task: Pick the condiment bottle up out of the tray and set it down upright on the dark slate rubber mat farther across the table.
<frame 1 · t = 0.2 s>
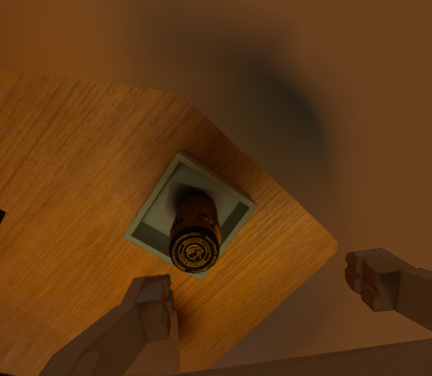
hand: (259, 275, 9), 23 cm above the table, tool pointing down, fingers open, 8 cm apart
tray: (192, 208, 33), on the table
cup 2: (164, 315, 37), on the table
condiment: (192, 208, 32), resting on tray
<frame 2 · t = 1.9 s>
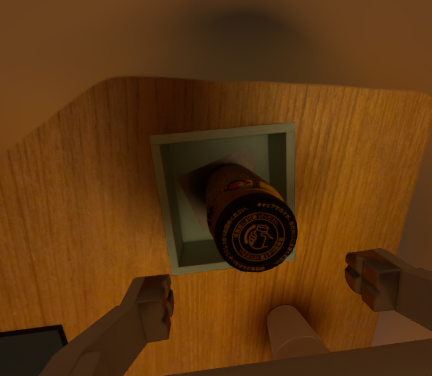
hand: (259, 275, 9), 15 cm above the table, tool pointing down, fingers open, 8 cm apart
tray: (223, 190, 24), on the table
cup 2: (282, 317, 30), on the table
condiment: (223, 190, 24), resting on tray
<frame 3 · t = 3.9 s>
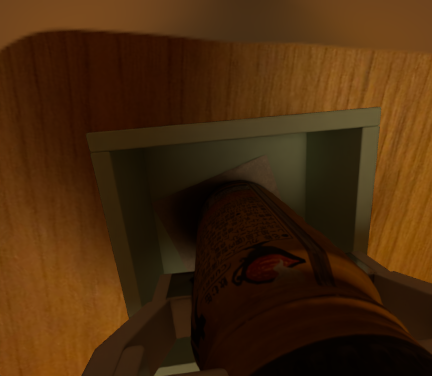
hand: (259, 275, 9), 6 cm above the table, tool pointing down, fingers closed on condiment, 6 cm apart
tray: (231, 220, 15), on the table
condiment: (227, 222, 15), resting on tray, touching gripper
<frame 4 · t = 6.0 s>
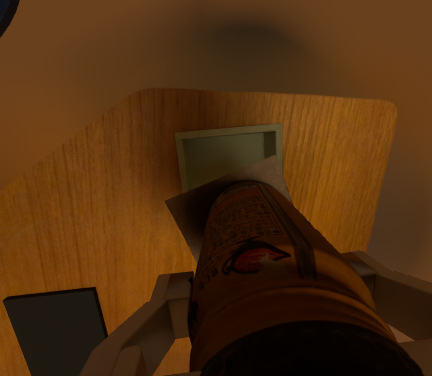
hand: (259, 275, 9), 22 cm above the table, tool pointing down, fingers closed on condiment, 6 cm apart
mat: (65, 336, 35), on the table
tray: (227, 177, 31), on the table
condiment: (236, 220, 16), point 15 cm above the table, touching gripper
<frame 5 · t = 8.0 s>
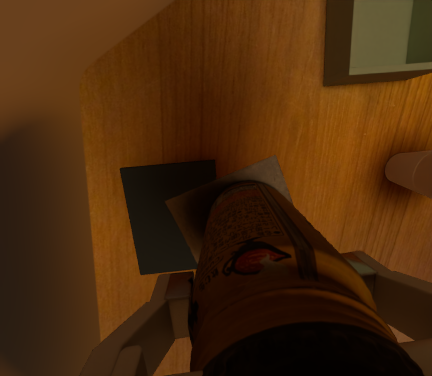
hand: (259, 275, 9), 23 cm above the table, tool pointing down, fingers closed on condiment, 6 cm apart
mat: (176, 219, 33), on the table
tray: (369, 29, 28), on the table
cup 2: (397, 167, 34), on the table
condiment: (237, 221, 16), point 17 cm above the table, touching gripper
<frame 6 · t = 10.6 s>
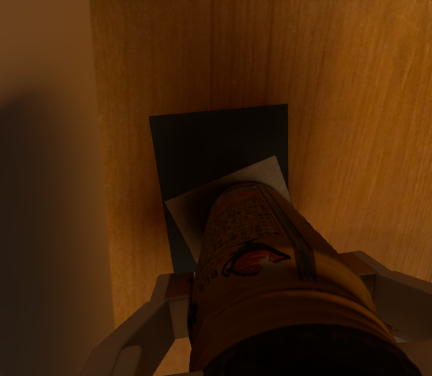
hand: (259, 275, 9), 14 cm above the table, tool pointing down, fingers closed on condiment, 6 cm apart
mat: (225, 194, 23), on the table
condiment: (236, 221, 16), point 8 cm above the table, touching gripper
when the fingers open (7 cm above the table, at t = 12.7 s): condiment stays where it is, resting on mat.
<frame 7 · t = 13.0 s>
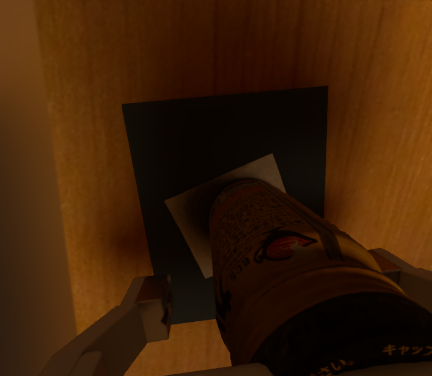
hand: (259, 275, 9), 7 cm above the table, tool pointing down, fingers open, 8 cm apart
mat: (234, 216, 17), on the table
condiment: (235, 218, 16), point 1 cm above the table, touching mat
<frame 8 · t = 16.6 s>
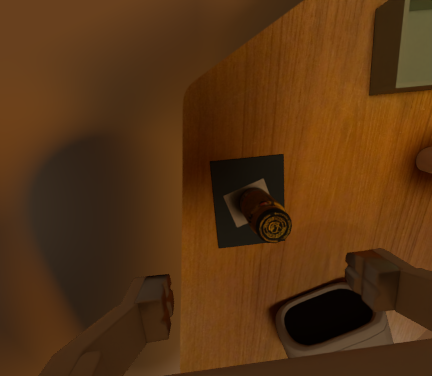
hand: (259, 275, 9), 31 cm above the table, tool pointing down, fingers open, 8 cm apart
alarm clock: (313, 304, 49), on the table
mat: (248, 202, 41), on the table
tray: (406, 51, 37), on the table
cup 2: (426, 159, 42), on the table
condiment: (249, 202, 41), point 1 cm above the table, touching mat
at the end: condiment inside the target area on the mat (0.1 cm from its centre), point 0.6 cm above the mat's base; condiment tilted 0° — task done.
